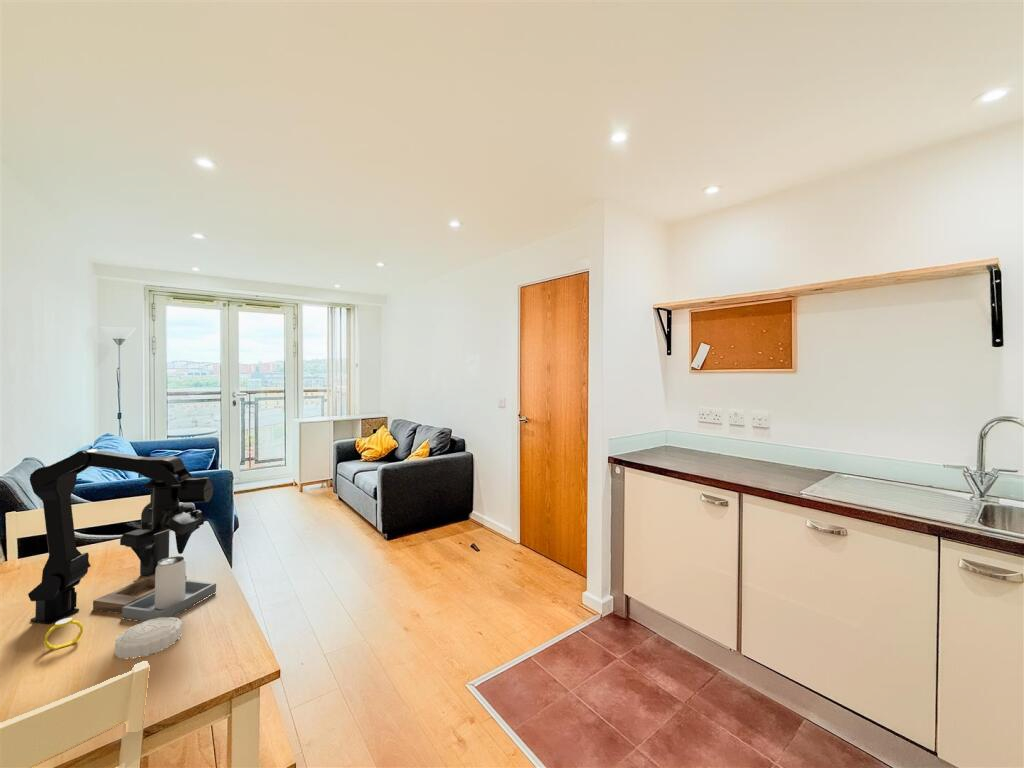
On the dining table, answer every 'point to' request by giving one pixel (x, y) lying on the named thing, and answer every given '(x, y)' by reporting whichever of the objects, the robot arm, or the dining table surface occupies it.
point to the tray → (147, 610)
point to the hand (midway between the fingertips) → (164, 560)
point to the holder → (124, 595)
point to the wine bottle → (160, 542)
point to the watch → (61, 624)
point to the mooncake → (148, 637)
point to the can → (170, 582)
